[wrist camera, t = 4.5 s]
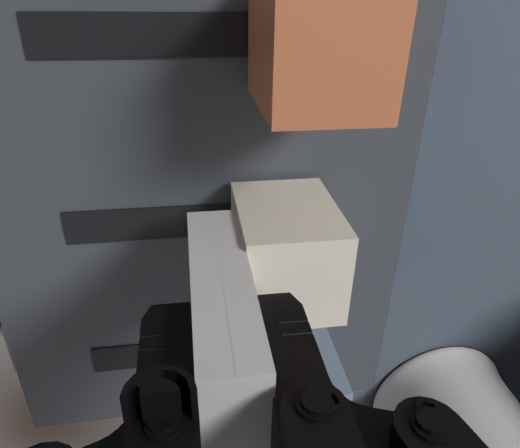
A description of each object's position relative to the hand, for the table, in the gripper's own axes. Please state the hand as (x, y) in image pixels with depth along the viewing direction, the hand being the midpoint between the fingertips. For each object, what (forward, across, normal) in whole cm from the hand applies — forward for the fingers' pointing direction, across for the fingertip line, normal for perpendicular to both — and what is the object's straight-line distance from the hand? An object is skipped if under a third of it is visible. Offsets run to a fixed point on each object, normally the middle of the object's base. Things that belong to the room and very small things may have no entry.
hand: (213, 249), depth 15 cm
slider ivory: (+2, +2, 0) cm, 3 cm away
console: (+7, 0, 0) cm, 7 cm away
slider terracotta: (+2, +3, +6) cm, 7 cm away
